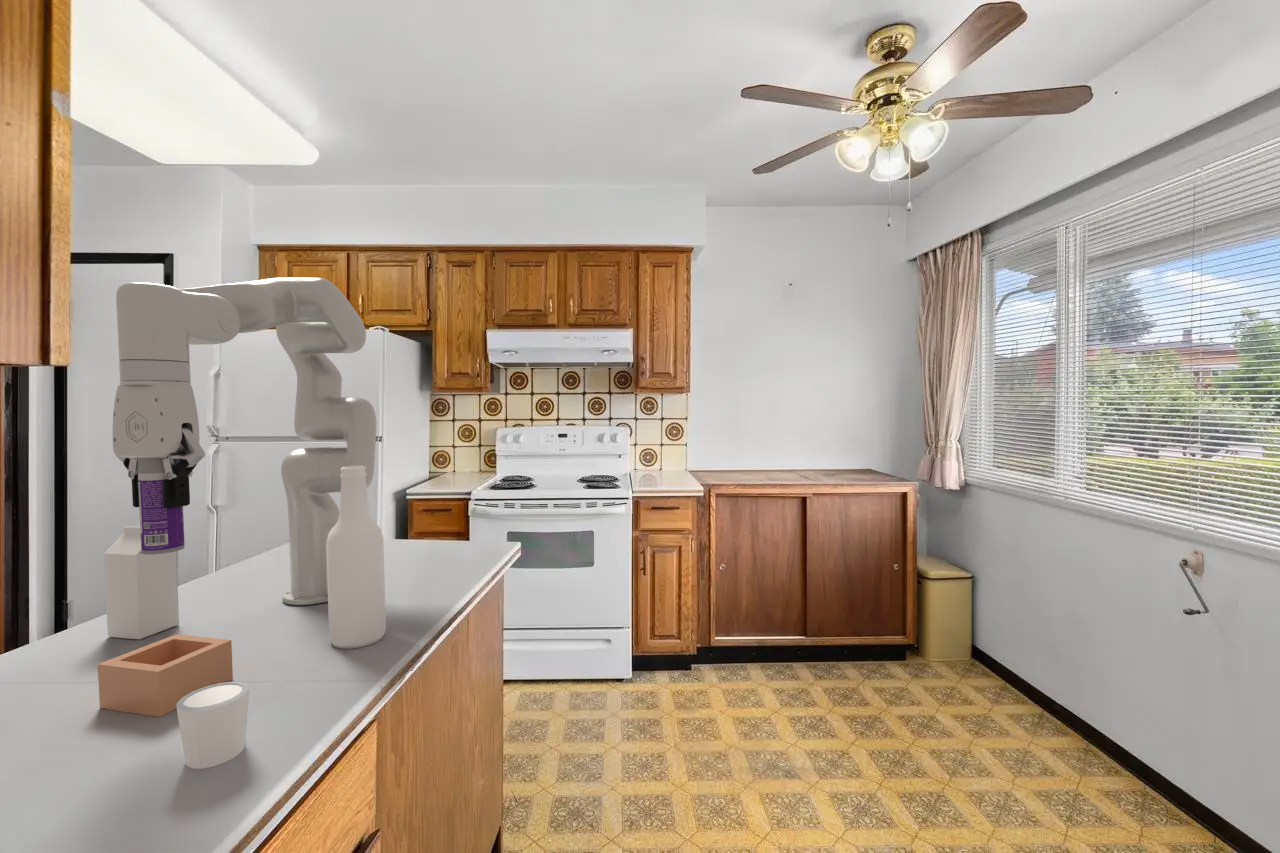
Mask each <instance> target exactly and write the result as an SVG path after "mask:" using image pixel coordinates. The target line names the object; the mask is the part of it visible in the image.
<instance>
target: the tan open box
mask: <svg viewBox="0 0 1280 853" xmlns="http://www.w3.org/2000/svg"><path fill="white" fill-rule="evenodd" d="M233 673H234V672H233V648H232V639H223V638H217V637H207V636H196V635H188V634H179V633H178V634H177V633H176V634H173V635H171V636H170V635H169V636H168V637H166V638H162V639H159V640H158V641H155V642H151V643H149V644H148V645H145V646H142V647H140V648H137V649H135V650H131V651H128V652H126V653H123V654H121V655H119V656H118V655H117V656H116V657H112V658H111V659H108V660H106V661H102V662H100V663H97V674H98V676H97V678H98V698H99V708H100V709H103V708H106V709H105V710H109V711H117V712H124V713H130V714H131V713H132V714H138V715H142V716H143V715H144V716H150V717H151V716H152V717H155V718H158V717H159V718H161V717H163V716H165V715H168V713H171V712H173V711H174V710H177V702H178V701H179V700H180V699H181V698H182V697H184V696H186V695H188V694H189V693H191V692H193V691H196V690H198V689H201V688H204V687H207V686H211V685H215V684H219V683H227V682H233V681H234V674H233Z"/></svg>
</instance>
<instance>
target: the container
mask: <svg viewBox="0 0 1280 853" xmlns="http://www.w3.org/2000/svg"><path fill="white" fill-rule="evenodd" d="M171 455H179V454H178V451H176V452H174V453H171ZM178 462H179V460H177V461H174V465H175V466H176V464H177V463H178ZM164 479H167V477H166V473H165V469H164V465H163V461H162V458H138V490H139V507H138V509H139V510H138V511H139V525H140V526H139V527H140V531H141V550H142V554H146V555H152V554H163V553H170V552H175V551H176V552H178V551H181V550H183V549H185V545H186V544H185V526H184V524H185V522H184V506H182V507H176V508H170V509H166V508H164V502H163V480H164Z"/></svg>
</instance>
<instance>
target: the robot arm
mask: <svg viewBox="0 0 1280 853" xmlns="http://www.w3.org/2000/svg"><path fill="white" fill-rule="evenodd" d="M115 296H116V298H115V299H116V300H115V301H116V302H115V303H116V323H117V324H116V325H117V341H118V343H117V346H118V359H119V361H118V366H119V369H118V370H119V385H117V387H116V391H115V397H114V403H113V404H114V405H113V413H112V451H113V454H114V455H115V457H116V458H117V459H118V460H120V461H121V462H122V464H123V465H124V468H125V469H126V471H127V476H128V478H129V479H131V490H132V492H131V496H132V499H131V500H132V507H134V508H139V490H138V458H162V461H163V465H164V469H165V473H166V477H167V479H164V480H163V502H164V508H166V509H170V508H176V507H182V506H183V507H187V506H189V505H190V504H191V495H190V494H191V492H190V478H191V477H192V476H193V470H194V469H195V468H196V467H197V465H198V464H199V462H200V461H202V459H203V458H204V457H206V456H205V455H206V453H205V450H204V449H203V448H202V446H201V445H200V426H199V425H200V424H199V415H198V409H197V408H198V407H197V404H196V403H197V402H196V398H195V393H194V390H193V386H192V384H191V381H192V380H191V364H190V362H191V361H190V345H218V344H219V345H220V344H224V343H227V342H230V341H231V340H234V338H235V337H236V336H238V334H246V333H254V332H255V333H256V332H260V331H264V330H267V329H271V328H274V327H275V331H276V337H277V340H278V342H279V343H280V345H281V347H282V348H283V350H284V351H285V353H286V354H287V356H288V359H290V362H291V363H292V364H293V367H294V369H295V370H294V371H295V373H296V394H295V404H294V416H293V418H294V421H293V422H294V423H293V424H294V426H293V427H294V432H295V434H296V436H297V437H298V438H299V439H300V440H302V441H307V442H321V443H323V442H324V443H326V442H329V443H331V442H345V443H346V447H328V446H327V447H326V446H325V447H302V448H298V449H295V450H292V451H290V452H289V453H288V454H287V455H285V457H284V458H283V460H282V462H281V466H280V473H281V479H282V483H283V487H284V491H285V495H286V501H287V502H286V503H287V513H288V538H289V542H288V543H289V564H290V565H289V566H290V589H289V590H286V591H285V592H284V593H282V602H284V603H285V604H287V605H293V606H308V605H317V604H323V603H327V602H328V582H327V550H326V543H327V539H328V534H329V532H330V531H331V529H332V528H333V527H334V526H335V524H336V523H337V522H338V518H339V513H340V508H339V507H338V504H337V503H336V501H335V500H334V499H333V497H332V496H331V494H330V493H341V477H340V475H341V471H340V469H341V468H342V467H345V466H365V467H366V470H365V473H366V477H365V478H366V487H367V489H369V487H370V486H371V484H372V482H373V478H374V472H375V460H376V459H375V457H376V442H377V441H376V440H377V414H376V411H375V409H374V406H373V404H372V403H371V401H369V400H367V399H365V398H363V397H356V396H355V397H353V396H352V397H350V396H348V397H347V396H344V397H343V396H342V385H343V384H342V382H343V377H342V375H341V373H340V370H339V369H338V367H337V366H336V365H335V363H334V362H333V361H332V360H331V359H330V358H329V356H327V355H326V354H353V353H356V352H357V353H358V351H361V349H363V347H364V346H365V344H366V340H367V331H366V328H365V327H366V326H365V323H364V322H363V320H362V318H361V316H360V315H359V314H358V313H357V311H356V310H355V308H354V307H353V305H352V304H351V303H350V301H349V299H348V298H347V296H346V295H345V294H344V293H343V292H342V291H341V290H340V289H339V287H337V286H336V285H335V284H334V283H333V282H331V281H330V280H329V279H326V278H323V277H272V278H264V279H260V280H251V281H243V282H242V281H241V282H235V283H224V284H215V285H208V286H202V287H199V286H198V287H189V288H177V287H175V286H171V285H167V284H166V285H165V284H160V283H151V282H129V283H124V284H121V285H120V286H119V287H118V288H117V290H116V294H115ZM176 451H178V454H179V455H171V453H174V452H176ZM177 460H179V462H178V463H177V464H176V466H175V465H174V461H177Z"/></svg>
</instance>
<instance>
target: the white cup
mask: <svg viewBox="0 0 1280 853" xmlns="http://www.w3.org/2000/svg"><path fill="white" fill-rule="evenodd" d="M249 696H250V687H249V684H247V683H245V682H242V681H230V682H227V683H219V684H215V685H211V686H207V687H204V688H201V689H198V690H196V691H193V692H191V693H189V694H188V695H186V696H184V697H182V698H181V699H180V700H179V701H178V702H177V709H176V712H177V719H178V720H177V721H178V725H179V730H180V736H181V737H180V738H181V743H182V749H183V755H184V756H183V757H184V761H185V766H186V767H188V768H190V769H197V770H200V769H201V770H202V769H208V768H213V767H216V766H219V765H222V764H224V763H228V762H229V761H231V760H233V759H235V758H236V757H237V756H238V755H240V754H241V753H242V752H243V751H244V749H245V748H246V738H247V725H248V724H247V723H248V711H249V709H248V708H249Z"/></svg>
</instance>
